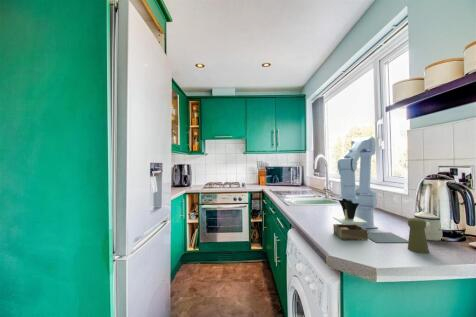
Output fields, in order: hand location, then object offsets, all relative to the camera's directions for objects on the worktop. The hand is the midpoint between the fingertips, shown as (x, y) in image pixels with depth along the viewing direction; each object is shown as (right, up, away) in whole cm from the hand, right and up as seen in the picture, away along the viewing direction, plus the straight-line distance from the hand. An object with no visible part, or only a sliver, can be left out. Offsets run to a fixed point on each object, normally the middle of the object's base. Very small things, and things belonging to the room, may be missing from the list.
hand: (349, 217), depth 100 cm
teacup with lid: (+30, -7, -5) cm, 31 cm away
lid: (0, -2, 0) cm, 2 cm away
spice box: (0, -8, 0) cm, 8 cm away
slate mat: (+13, -8, -3) cm, 15 cm away
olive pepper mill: (+16, -7, -17) cm, 25 cm away
